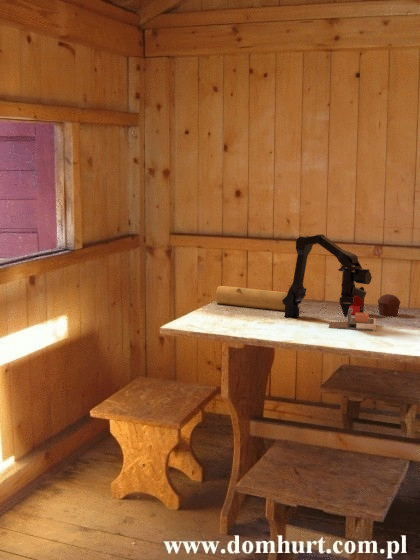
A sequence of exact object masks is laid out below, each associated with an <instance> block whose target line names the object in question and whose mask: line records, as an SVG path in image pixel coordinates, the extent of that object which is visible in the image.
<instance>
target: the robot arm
mask: <svg viewBox="0 0 420 560" xmlns="http://www.w3.org/2000/svg"><path fill="white" fill-rule="evenodd" d="M317 244H318V245H319V246H321V247H322V248H323V249H325V250H326V251H328V252H329V253H330V254H331V255H333V256H334V257H335V258H336V259H337V261H338V262H339V263H340V265H341V266H340V267H339V268H338V269H337V270H338V271H339V272H341V273H342V276H341V292H340V297H339V305H340V308H341V311H342V314H343V316H344V317H345V318H348V311H349V307H350V306H351V305H352V304H353V301H354V297H355V295H356V296H358V297H360V298H361V299H364V300H365V297H366V295H367V291H366V290H365V287H363V286H360V287H357V286H356V283H357V284H363V285H370V283H371V282H372V274H371V272H370V269H369V268H363V267H362V265H361V264H360V261H359V257H358V256H357V255H356V254H355V253H353V252H351V251H348V250H344V249H342V248H341V247H340V246H339V245H337V244H336V243H334V242H333V241H332V240H330V238H328V237H326V235H324V234H323V233H321V234H320V233H319V234H316V235H312V236H310V235H305V236H299V237H297V239H296V240H295V250H296V253H297V256H296V263H295V267H294V273H293V274H294V275H293V280H292V283H291V285H290V286H289V288H288V292H287V293H288V294H287V296H286V297H285V298H284V299H283V300H282V302H283V304H284V305H285V311H284V315H283V317H284V318H292V319H293V318H294V319H298V318H299V316H301V315H300V310H301V308H300V306H299V305H300V304H301V303H302V301H303V300H304V298H305V297H306V294H307V293H306V292H307V287H304V279H305V273H306V267H307V262H308V256H309V254H310V253H311V251H312V249H313V247H314V245H317Z"/></svg>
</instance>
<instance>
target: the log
mask: <svg viewBox="0 0 420 560" xmlns="http://www.w3.org/2000/svg"><path fill="white" fill-rule="evenodd" d="M287 294H288V292H286V291H285V292H284V291H275V290H267V289H257V288H249V287H248V288H247V287H239V286H226V285H219V286H218V287H216V292H215V297H214V298H215V302H216V303H217V304H220V305H226V306H235V307H236V306H237V307H243V308H253V309H261V310H272V311H279V310H280V311H283V312H285V305H284V304H283V302H282V300H283V299H284V298H285V297H286V296H287Z"/></svg>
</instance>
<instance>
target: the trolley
mask: <svg viewBox="0 0 420 560" xmlns="http://www.w3.org/2000/svg"><path fill="white" fill-rule="evenodd" d="M351 312H352V310H349V312H348V315H347V321H348V324H349V325H350V326H353V324H356V323H366V324H370V321H371V319H368V318H370V315H369V312H364V313H355V316H354V317H352V315H351Z"/></svg>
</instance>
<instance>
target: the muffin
mask: <svg viewBox="0 0 420 560" xmlns="http://www.w3.org/2000/svg"><path fill="white" fill-rule="evenodd" d="M377 304H378V310H379V311H378V312H379V315H380V316H383V317H397V316H398V314H399V309H400V304H401V301H400V299H399V298H398V296H396V295H394V294H391V293H390V294H389V293H388V294H383V295H381V296H380V297H379V298H378V299H377Z"/></svg>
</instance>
